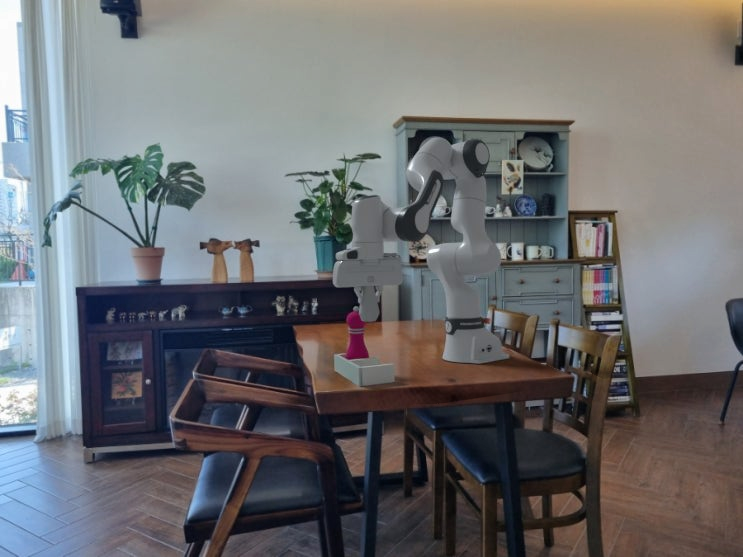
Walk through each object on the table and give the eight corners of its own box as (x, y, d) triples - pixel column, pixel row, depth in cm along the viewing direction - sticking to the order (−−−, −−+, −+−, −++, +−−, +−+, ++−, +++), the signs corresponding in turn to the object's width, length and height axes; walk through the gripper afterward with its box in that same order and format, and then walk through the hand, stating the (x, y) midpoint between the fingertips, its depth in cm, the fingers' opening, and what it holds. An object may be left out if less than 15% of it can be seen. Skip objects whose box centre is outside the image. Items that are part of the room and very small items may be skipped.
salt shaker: (380, 319, 143) (379, 274, 143) (378, 322, 137) (377, 274, 137) (360, 319, 144) (359, 274, 143) (357, 322, 138) (356, 275, 137)
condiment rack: (366, 367, 157) (365, 351, 157) (394, 382, 138) (394, 364, 138) (334, 370, 153) (334, 354, 153) (359, 386, 134) (358, 368, 134)
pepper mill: (341, 373, 149) (339, 307, 148) (353, 368, 155) (351, 304, 154) (362, 376, 146) (360, 307, 145) (373, 371, 152) (372, 305, 151)
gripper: (396, 252, 147) (397, 299, 147) (330, 253, 139) (331, 303, 139) (406, 252, 141) (407, 301, 141) (337, 253, 133) (338, 305, 134)
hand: (368, 302), depth 140 cm, fingers closed on salt shaker, 3 cm apart
